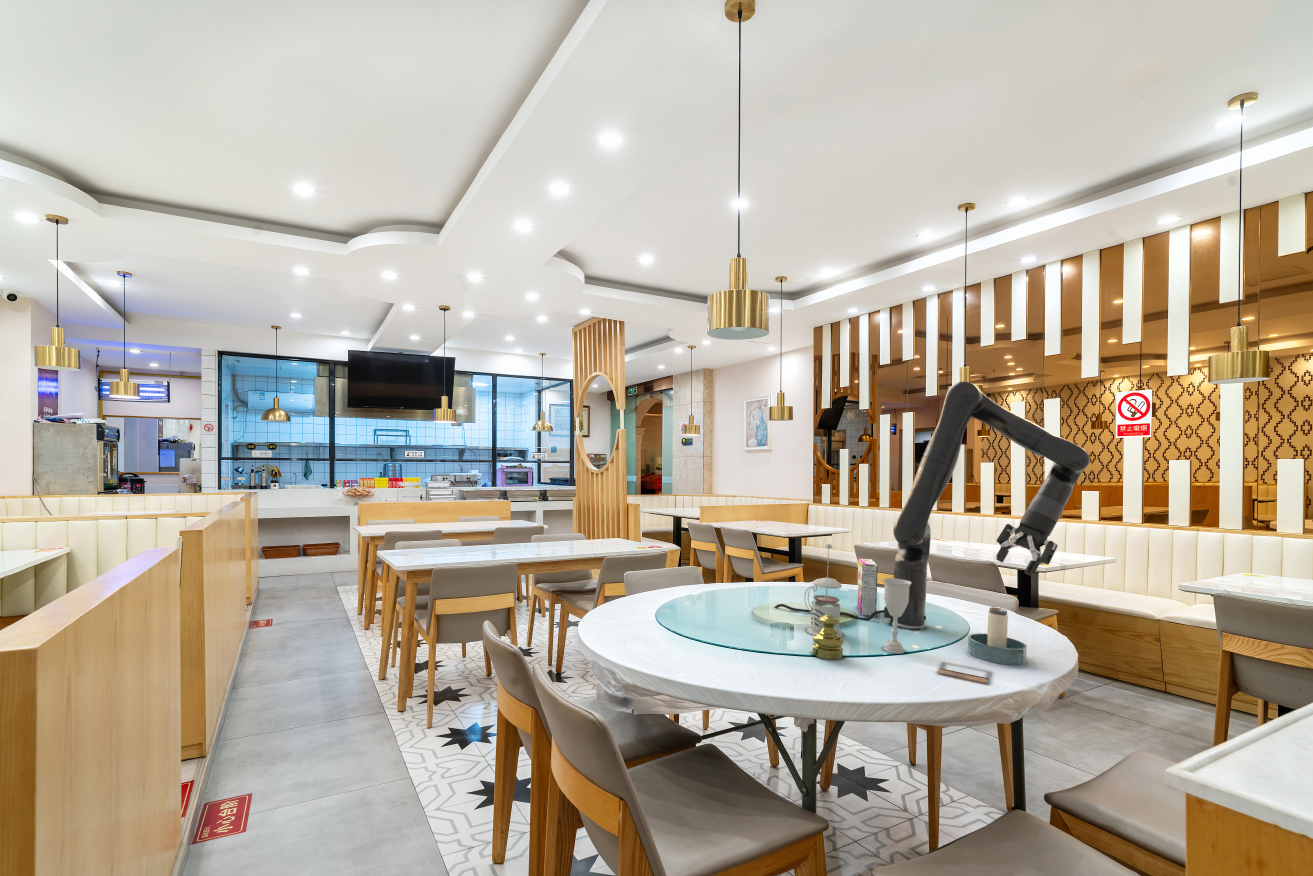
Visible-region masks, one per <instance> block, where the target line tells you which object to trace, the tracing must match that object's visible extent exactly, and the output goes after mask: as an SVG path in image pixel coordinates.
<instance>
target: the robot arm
mask: <svg viewBox="0 0 1313 876" xmlns="http://www.w3.org/2000/svg"><path fill="white" fill-rule="evenodd" d="M971 418H972V419H975V420H977V421H979V422H981V423H983V424H985V425H987V426H989V427H990V428H992V429H994V430H996V431H997V432H999V434H1001V435H1003V436H1004V437H1005V438H1007V439H1009V441H1012V442H1013V443H1014V444H1016V445H1018V446H1020V447H1022V448H1023V449H1024V450H1027V451H1028V452H1029V453H1032V454H1033V455H1035V456H1038V457H1044V458H1046V459H1048V460H1049V461H1051V462H1053V464H1052V465H1051V467H1050V470H1049V472H1048V474H1047V477H1046V478H1045V479H1044V481H1042V484H1041V485H1040V487H1039V489H1038V491H1037V492H1036V494H1035V496H1034V497H1033V498H1032V500H1031V501H1030V502H1029V505H1028V506H1027V509H1026V510H1025V511H1024V513H1023V515H1022V518H1021V519H1020V520H1019V525H1018V526H1017V527H1015V526H1013V525H1011V524H1010V523H1006V524H1005V526H1004V527H1003V529H1002V531H1001V532H1000V534H999V536H998V537H997V538H996V543H998V545H1000V547H999V550H998V552H997V554H996V556H995V558H996V561H998V562H1000V563H1004V561H1005V559H1006V558H1007V556H1008V554H1009V552H1010V550H1012V549H1014V548H1018V547H1020V548H1023V549H1026V550H1028V551H1029V552H1030V554H1031V559H1030V560H1029V562H1028V564H1027V566H1026V567H1025V570H1024V574H1026V575H1027V576H1032V575H1034V574H1035V573H1036V572H1037V570H1038V568H1039V567H1040V565H1050V563H1051V561H1052V559H1053V558H1054V555H1055V553H1056V551H1057V549H1058V543H1056V542H1054V541H1052V540H1048V538H1049V536H1051V535H1052V532H1053V530H1054V528H1055V527H1056V525H1057V524H1058V521H1059V520H1060V519H1061V518H1060V517H1061V516H1062V514H1063V511H1064V509H1065V507H1066V504H1067V503H1068V501H1069V499H1070V497H1071V496H1072V493H1073V490H1074V487H1075V485H1076V483H1077V482H1078V480H1079V478H1080V477H1081V475H1082V473H1083V472H1084V470H1085V469H1087V468H1088V466H1089V465H1090V462H1091V458H1090V454H1089V453H1088V451H1087V450H1086V449H1085V448H1083V446H1080V445H1078V444H1076V443H1075V442H1072V441H1070V440H1068V439H1065V438H1063V437H1060V436H1058V435H1055V434H1053V433H1051V432H1050V431H1048V430H1047V429H1045V428H1043V427H1041V426H1040V425H1038V424H1036V423H1034V422H1033V421H1030V420H1029V419H1028V418H1027V419H1026V418H1025V417H1022V416H1021V415H1018V414H1016V413H1014V412H1012V411H1011V410H1009V409H1006V408H1004V407H1002V406H1001V405H1000V404H998V403H996V402H994V400H992V399H991V398H990V397H989V396H988V395H986V394H985V393H983V391H982V390H981V389H980V388H979V387H978V386H977V385H976V384H975V383H973V382H970V381H966V380H965V381H964V380H962V381H958V382H955V383H954V384H953V385H951V386H950V387H949V388H948V390H947V391H946V393H945V397H944V401H943V406H942V409H941V413H940V416H939V419H938V422H937V425H936V427H935V429H934V431H933V433H932V434H931V437H930V439H929V441H928V444H927V445H926V448H925V449H924V452H923V455H922V457H921V459H920V462H919V464H918V467H917V470H916V474H915V476H914V479H913V482H912V485H911V487H910V491H909V494H908V497H907V500H906V502H905V503H904V505H903V507H902V510H901V512H900V513H899V515H898V517H897V518H896V521H895V522H894V525H893V537H894V539H895V541H896V542H897V550H896V554H895V557H894V560H893V579H902V580H907V581H910V582H911V585H910V587H909V602H908V604H907V607H906V609H905V611H904V612H903V614H902V616H900V617H898V619H897V623H898V626H897V628H902V629H907V630H921V629H924V628H925V627H926V621H927V616H926V604H927V603H926V602H927V581H928V564H929V561H930V552H931V550H930V549H931V538H932V537H931V535H932V534H931V533H932V531H931V525H930V524H929V520H930V516H931V513H932V511H933V509H934V506H935V505H936V503H937V502H938V500H939V498H940V497H941V496H942V494H943V492H944V490H945V489H946V487H947V486H948V485H949V482H950V480H951V479H952V476H953V473H954V471H955V468H956V466H957V463H958V459H959V457H960V452H961V448H962V442H963V436H964V433H965V430H966V428H967V425H968V424H969V422H970V420H971ZM1012 535H1013V536H1012ZM1043 546H1044V549H1043V551H1042V548H1041V547H1043ZM781 607H782V608H785V609H787V610H789V611H793V612H800V613H811V611H812V609H810V610H811V611H809V610H808V608H805V609H804V608H796V607H792V606H790V605H787V604H784V603H779V604H776V605H775V606H773V608H774V609H779V608H781ZM878 614H883V618H884V619H889V625H891V626H893V625H892V623H893V620H894V619H893V616H891V615H890V614H889V611H888V609H887V607H886V605H885V606H884V608H883V609H880V610H876V612H873V613H872V614H871V616H866V617H861V616H858V615H855V614H852V613H849V612H844V611H840V616H846V617H850V618H853V619H857V620H861V621H870V620H872V619H873V618H874V617H873V616H874V615H876V616H877V615H878Z"/></svg>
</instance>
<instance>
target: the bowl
mask: <svg viewBox="0 0 1313 876" xmlns="http://www.w3.org/2000/svg"><path fill="white" fill-rule="evenodd" d="M987 634H988V633H981V632H980V633H978V632H977V633H971V634H968V639H967V653H968V654H969V655H970V656H973V657H974V658H976V659H979V660H982V661H985V662H988V663H993V664H999V665H1005V666H1021V665H1025V664H1027V644H1025V643H1024V642H1022V641H1020V640H1017V639H1014V638H1012V637H1008V636H1007V648H1000V647H994V646H989V645H987Z"/></svg>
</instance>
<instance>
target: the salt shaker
mask: <svg viewBox="0 0 1313 876" xmlns="http://www.w3.org/2000/svg"><path fill="white" fill-rule="evenodd" d="M819 621H820V622H821V623H822V625H823V629H821V630H820V631H819V633H816V634H814V635H812V641H813V644H812V645H811V646H812V652H811V653H812V655H814V656H815V657H817V658H819V659H821V660H822V659H823V660H831V661H837V660H840V659H843V656H844V648H843V647H842V646H843V645H844V642H845V641H844V639H843V636H842V637H840V636H839V635H838V633H837V632H836V631H835V630H834V627H835V626H836V625H837V624H838V623H839V624H840V620H838V619H837V618H836V617H833V615H830V614H824V615H823V616H822V617H820V618H819Z"/></svg>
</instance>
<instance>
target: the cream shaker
mask: <svg viewBox="0 0 1313 876" xmlns="http://www.w3.org/2000/svg"><path fill="white" fill-rule="evenodd" d="M988 609H989V611H988V613H987V614H988V615H987V633H986V634H987V645H989V646H994V647H1000V648H1007V637H1008V622H1009V615H1008V614H1009V613H1008V610H1007V609H1005V608H1000V607H993V606H992V607H989V608H988Z"/></svg>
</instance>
